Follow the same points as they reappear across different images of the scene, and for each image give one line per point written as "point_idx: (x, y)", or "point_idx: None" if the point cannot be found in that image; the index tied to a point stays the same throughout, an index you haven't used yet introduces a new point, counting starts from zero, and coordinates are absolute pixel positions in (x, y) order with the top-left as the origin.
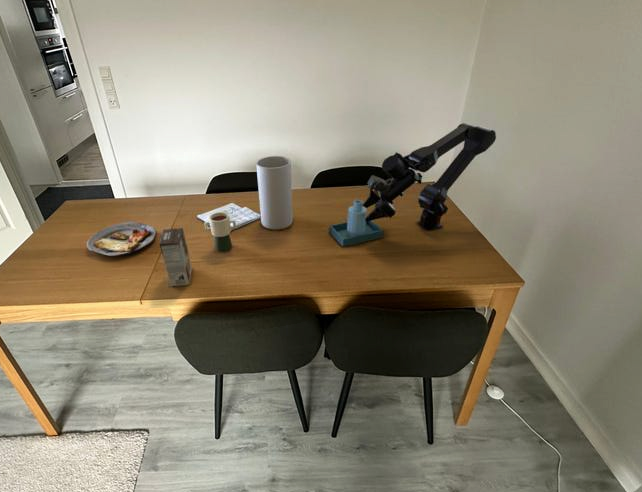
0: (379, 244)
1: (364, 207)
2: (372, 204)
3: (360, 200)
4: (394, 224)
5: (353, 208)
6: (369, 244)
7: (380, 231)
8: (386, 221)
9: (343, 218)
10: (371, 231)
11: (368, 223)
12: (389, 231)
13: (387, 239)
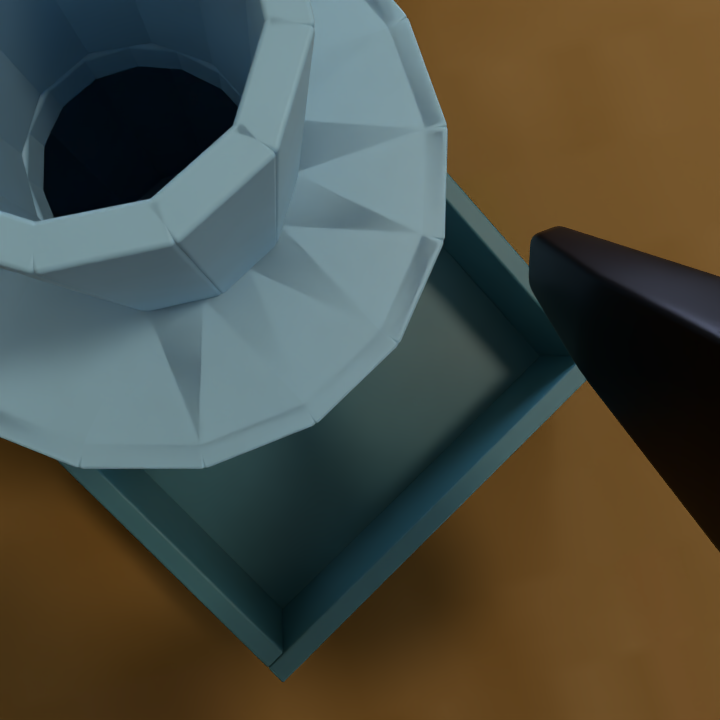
0: (91, 634)
1: (361, 351)
2: (690, 502)
3: (248, 107)
4: (645, 680)
5: (41, 4)
6: (46, 514)
7: (245, 644)
8: (689, 571)
9: (605, 31)
10: (357, 466)
11: (517, 389)
12: (458, 667)
13: (252, 695)
